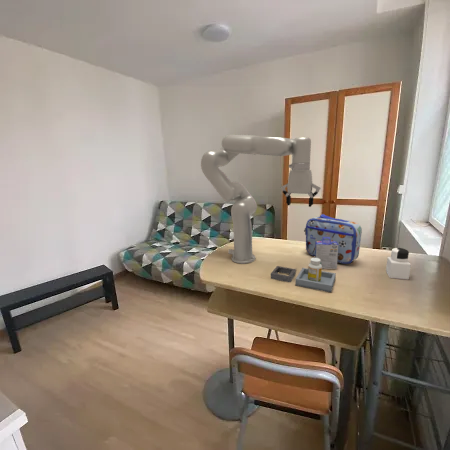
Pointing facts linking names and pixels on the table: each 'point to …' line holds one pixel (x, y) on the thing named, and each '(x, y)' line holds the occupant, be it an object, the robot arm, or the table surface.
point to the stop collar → (281, 277)
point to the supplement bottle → (314, 270)
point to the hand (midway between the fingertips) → (299, 205)
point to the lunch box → (334, 236)
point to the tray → (324, 285)
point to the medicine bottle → (398, 264)
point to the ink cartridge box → (327, 253)
